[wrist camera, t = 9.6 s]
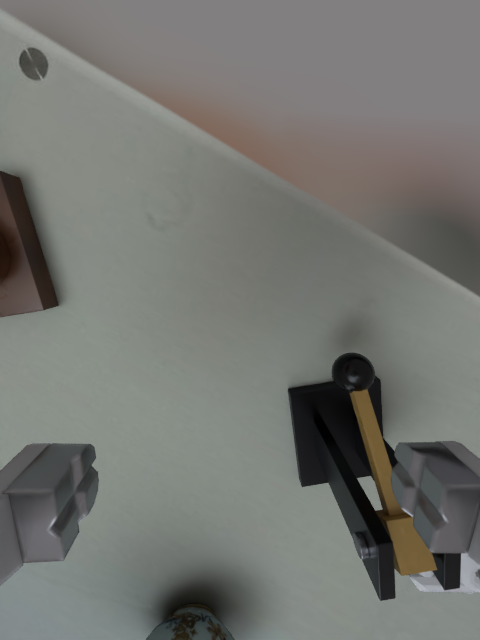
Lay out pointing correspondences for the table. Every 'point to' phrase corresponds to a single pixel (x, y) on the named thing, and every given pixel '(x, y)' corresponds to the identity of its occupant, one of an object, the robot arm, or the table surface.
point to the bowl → (191, 625)
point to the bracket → (352, 476)
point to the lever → (381, 466)
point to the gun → (470, 578)
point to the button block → (20, 255)
